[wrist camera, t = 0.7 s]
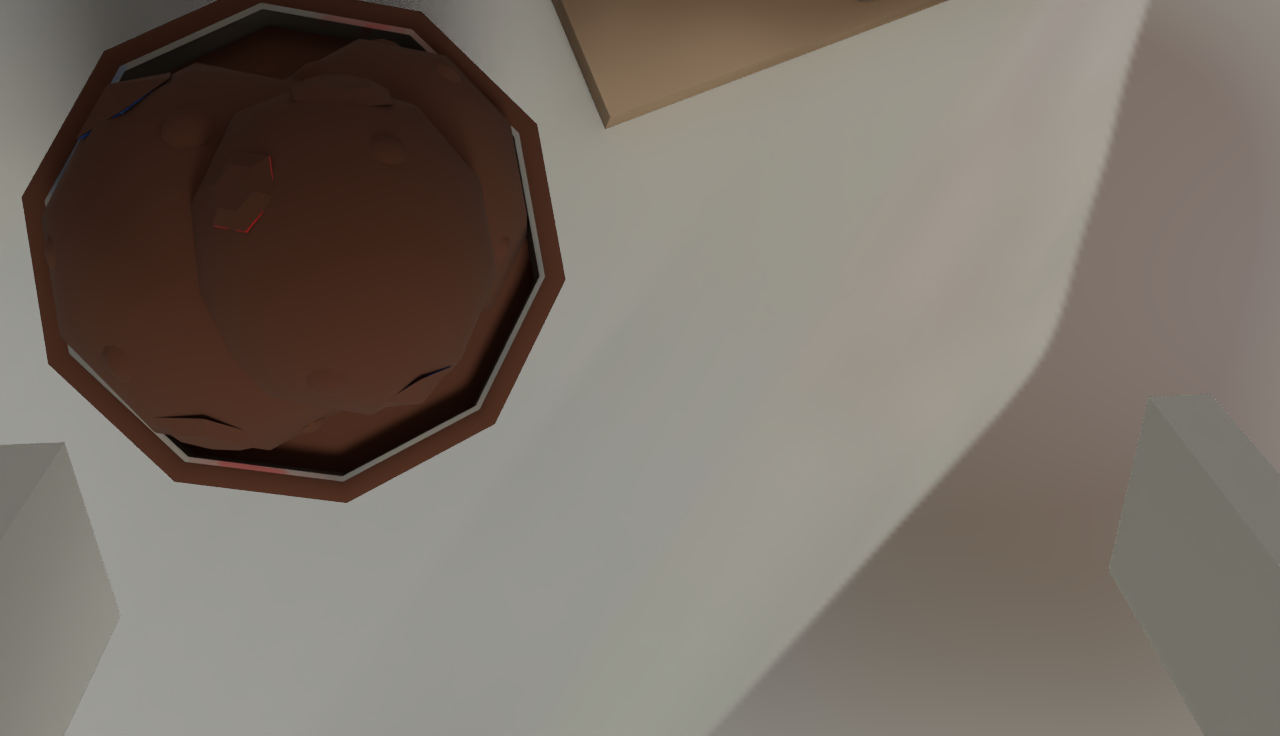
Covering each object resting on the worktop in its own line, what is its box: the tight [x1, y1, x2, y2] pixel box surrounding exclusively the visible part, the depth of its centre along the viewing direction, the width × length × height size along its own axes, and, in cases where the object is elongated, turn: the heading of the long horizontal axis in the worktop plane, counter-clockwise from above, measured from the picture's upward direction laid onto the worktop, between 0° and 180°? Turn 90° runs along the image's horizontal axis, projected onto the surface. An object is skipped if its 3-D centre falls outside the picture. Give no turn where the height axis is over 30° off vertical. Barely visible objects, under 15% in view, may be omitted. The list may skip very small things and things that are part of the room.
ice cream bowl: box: [22, 0, 565, 503], centre depth 27 cm, size 11×11×15 cm
